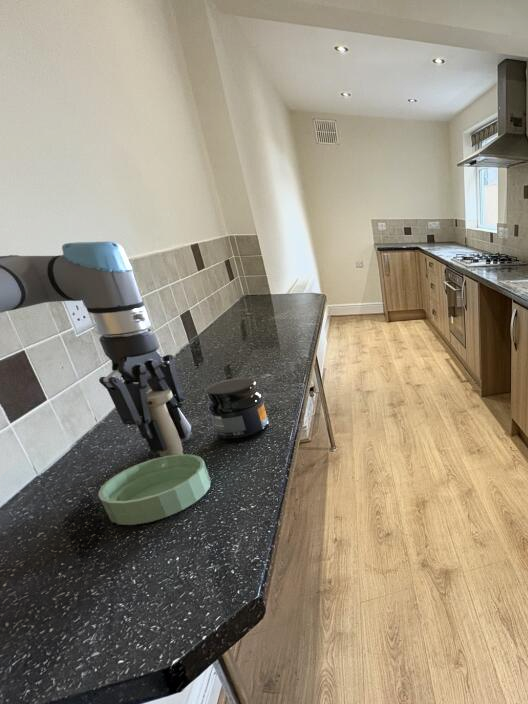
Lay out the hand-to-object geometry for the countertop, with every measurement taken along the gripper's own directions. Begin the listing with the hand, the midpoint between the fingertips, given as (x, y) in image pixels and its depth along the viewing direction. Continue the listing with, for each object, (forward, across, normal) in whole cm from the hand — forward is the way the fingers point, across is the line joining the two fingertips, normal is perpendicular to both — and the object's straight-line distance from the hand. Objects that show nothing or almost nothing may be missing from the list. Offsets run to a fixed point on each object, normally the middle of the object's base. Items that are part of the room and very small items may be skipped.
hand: (168, 443), depth 83 cm
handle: (+4, 0, 0) cm, 4 cm away
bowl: (+4, -12, -8) cm, 15 cm away
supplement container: (+4, +12, -7) cm, 14 cm away
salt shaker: (+4, +8, +6) cm, 11 cm away
